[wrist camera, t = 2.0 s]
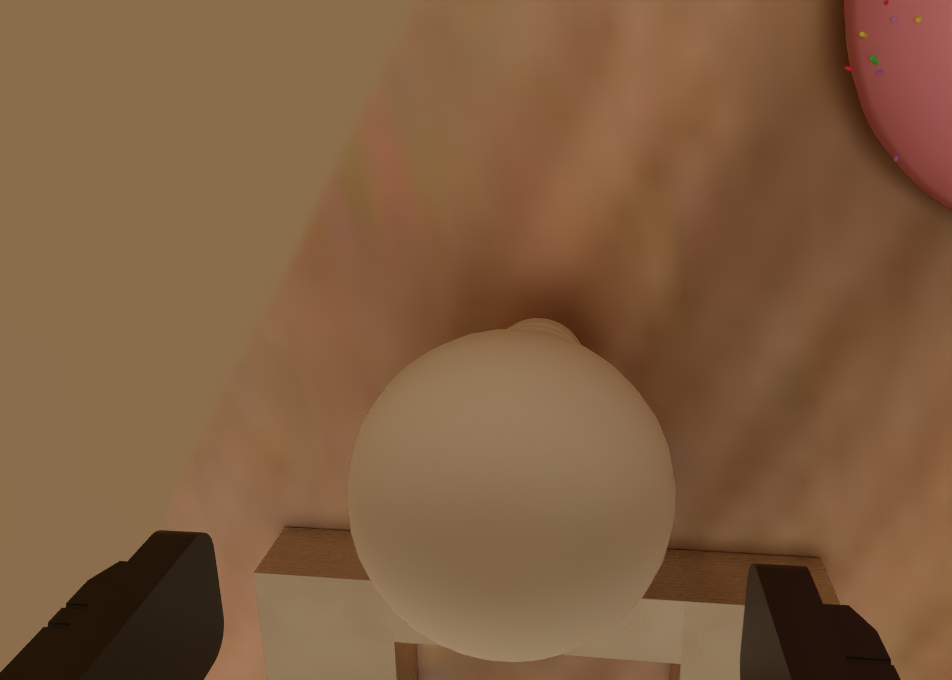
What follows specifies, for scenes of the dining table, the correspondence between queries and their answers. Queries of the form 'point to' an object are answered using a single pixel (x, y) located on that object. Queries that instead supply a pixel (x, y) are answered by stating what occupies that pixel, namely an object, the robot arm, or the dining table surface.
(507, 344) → the lightbulb
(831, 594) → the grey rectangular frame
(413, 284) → the dining table surface
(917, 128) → the doughnut
